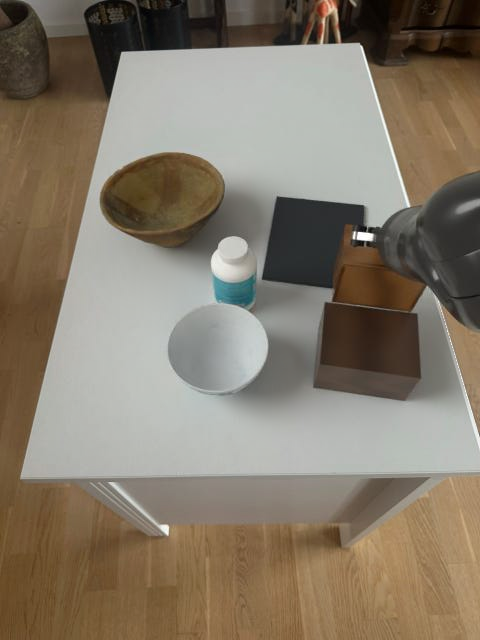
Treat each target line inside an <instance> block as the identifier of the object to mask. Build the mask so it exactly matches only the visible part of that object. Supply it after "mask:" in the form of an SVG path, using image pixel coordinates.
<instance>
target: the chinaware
mask: <svg viewBox="0 0 480 640" xmlns="http://www.w3.org/2000/svg"><path fill="white" fill-rule="evenodd" d="M166 342H167V343H166V357H167V361H168V364H169V366H170V368H171V370H172V372H173V373H174V375H175V376H176V377H177V378H178V379H179V380H180V381H181V383H183V384H185V386H186V387H188V388H189V389H191V390H193V391H195V392H197V393H199V394H203V395H206V396H216V397H217V396H219V397H221V396H228V395H233V394H234V393H237V392H239V391H242V390H243V389H244V388H247V387H248V386H249V385H250V384H251V383H252V382H254V380H255V379H256V378H258V376H259V375H260V373H261V372H262V371H263V368H264V367H265V364H266V362H267V359H268V355H269V349H270V348H269V345H270V344H269V338H268V333H267V331H266V328H265V327H264V325H263V323H262V322H261V321H260V320H259V319H258V318H257V317H256V316H255V315H254V314H253V313H252V312H250V310H248V311H247V310H245V309H243V308H241V307H239V306H236V305H232V304H225V303H216V302H214V303H207V304H204V305H200V306H198V307H195V308H193V309H191V310H190V311H188V312H187V313H185V314H183V316H181V317H180V318H179V319H178V320H177V322H176V323H175V324H174V325H173V326H172V328H171V330H170V333H169V335H168V338H167V341H166Z"/></svg>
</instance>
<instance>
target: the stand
mask: <svg viewBox="0 0 480 640" xmlns="http://www.w3.org/2000/svg"><path fill="white" fill-rule="evenodd" d="M418 314H419V313H415V312H407V311H399V310H391V309H383V308H375V307H367V306H359V305H351V304H343V303H335V302H328V301H325V302H324V304H323V309H322V311H321V316H320V320H319V324H318V329H317V339H316V349H315V361H314V362H315V363H314V374H313V384H312V388H314V389H321V390H328V391H333V392H341V393H348V394H355V395H360V396H367V397H375V398H381V399H390V400H394V401H401V402H402V401H403V402H405V401H406V400H407V398H408V397H409V396H410V395H411V393H412V392H413V390H414V389H415V388H416V387H417V385H418V384H419V382H420V381H421V380H422V370H421V368H422V367H421V352H420V351H421V350H420V333H419V332H420V331H419V315H418Z"/></svg>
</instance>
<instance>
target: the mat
mask: <svg viewBox="0 0 480 640" xmlns="http://www.w3.org/2000/svg"><path fill="white" fill-rule="evenodd" d="M364 220H365V205H364V204H356V203H347V202H338V201H337V202H336V201H328V200H319V199H308V198H299V197H298V198H297V197H289V196H278V195H277V196H276V200H275V204H274V210H273V215H272V221H271V225H270V231H269V237H268V242H267V248H266V253H265V259H264V264H263V270H262V275H261V280H263V281H269V282H277V283H285V284H286V283H287V284H293V285H294V284H295V285H302V286H310V287H317V288H325V289H326V288H327V289H333V278H334V266H335V262H336V258H337V255H338V251H339V247H340V243H341V239H342V236H343V232H344V228H345V224H349V225H356V224H361V225H360V226H365V225H364V223H365V221H364Z"/></svg>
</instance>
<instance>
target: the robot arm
mask: <svg viewBox="0 0 480 640" xmlns="http://www.w3.org/2000/svg"><path fill="white" fill-rule="evenodd" d="M360 225H361V224H356V225H353V229H352V234H351V242H350V245H352V246H353V247H357V246H362V247H373V248H378V252H379V255H380V257H381V259H382V261H383V263H384V264H385V265H386V266H387V267H388V268H389V269H390V270H391V271H393V272H395V273H397V274H399V275H401V276H403V277H405V278H407V279H409V280H411V281H414V282H417V283H423V284H426V285H427V287H428V288H429V289H430V290H431V292H432V293H433V295H434V296H435V297H436V299H437V300H438V301H439V303H440V304H441V305H442V306H443V307H444V308H445V309H446V311H447V312H448V313H449V314H450V315H451V316H452V317H453V319H455V320H456V321H457V322H458V324H460V325H462V326H464V327H465V328H467V329H468V330H470V331H473V332H475V333H478V334H480V170H476V171H473V172H469V173H466V174H463V175H461V176H458V177H456V178H453V179H451V180H449V181H447V182H446V183H443V184H442V185H441V186H440V187H438V188H437V189H436V190H435V191H434V192H432V193H431V194H430V195H429V197H428V198H426V200H425V202H424V203H423V204H419V205H415V206H413V205H412V206H408V207H404V208H401V209H399V210H398V211H396V212H394V213H393V214H391V216H389V217H388V218H387V219H386V221H384V223H383V224H382V225H381V226H368V225H367V226H366V225H364V226H360ZM375 227H376V228H375Z"/></svg>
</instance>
